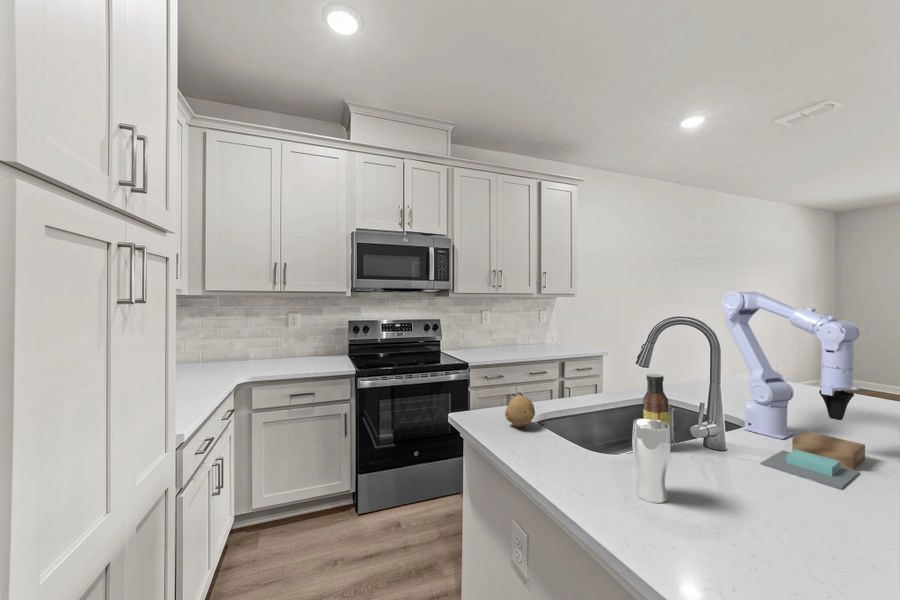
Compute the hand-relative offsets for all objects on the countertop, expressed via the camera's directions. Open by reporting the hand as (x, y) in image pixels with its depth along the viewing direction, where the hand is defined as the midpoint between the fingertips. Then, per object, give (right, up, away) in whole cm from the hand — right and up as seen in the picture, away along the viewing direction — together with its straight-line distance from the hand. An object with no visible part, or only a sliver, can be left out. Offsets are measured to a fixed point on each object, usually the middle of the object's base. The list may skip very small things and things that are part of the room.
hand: (835, 418), depth 97 cm
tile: (-13, -7, -8) cm, 17 cm away
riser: (-4, -9, -2) cm, 10 cm away
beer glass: (-59, -10, -20) cm, 63 cm away
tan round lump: (-79, -9, +19) cm, 82 cm away
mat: (-15, -9, -8) cm, 19 cm away
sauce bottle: (-45, -9, +4) cm, 46 cm away
